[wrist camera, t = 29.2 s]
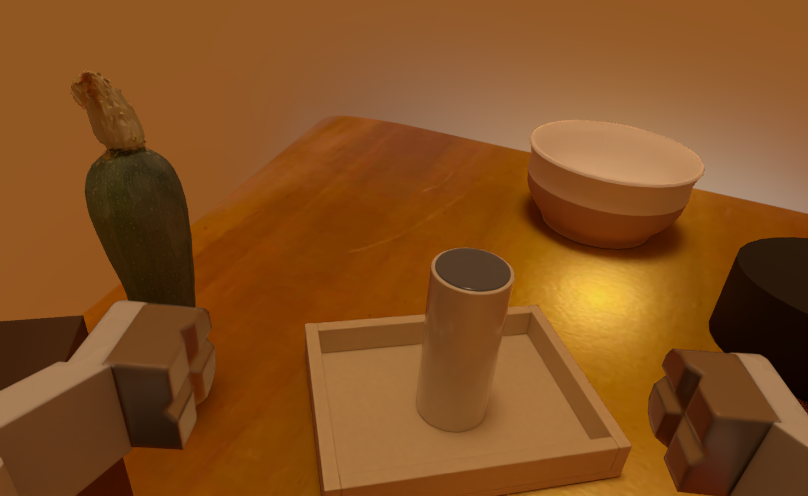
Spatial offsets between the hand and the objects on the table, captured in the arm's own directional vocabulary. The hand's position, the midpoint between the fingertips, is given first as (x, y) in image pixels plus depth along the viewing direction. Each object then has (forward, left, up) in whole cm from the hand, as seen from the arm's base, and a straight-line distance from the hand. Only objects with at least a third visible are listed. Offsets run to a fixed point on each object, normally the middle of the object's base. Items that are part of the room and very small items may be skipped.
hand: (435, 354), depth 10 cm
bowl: (+29, +38, -20) cm, 52 cm away
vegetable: (-9, +20, -20) cm, 30 cm away
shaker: (+7, +16, -20) cm, 26 cm away
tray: (+7, +16, -20) cm, 27 cm away
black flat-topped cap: (+37, +16, -20) cm, 45 cm away
